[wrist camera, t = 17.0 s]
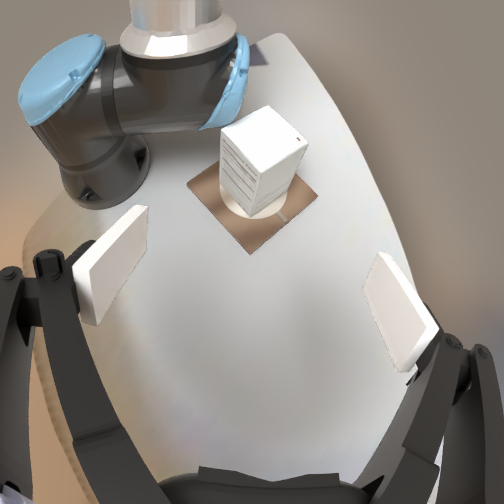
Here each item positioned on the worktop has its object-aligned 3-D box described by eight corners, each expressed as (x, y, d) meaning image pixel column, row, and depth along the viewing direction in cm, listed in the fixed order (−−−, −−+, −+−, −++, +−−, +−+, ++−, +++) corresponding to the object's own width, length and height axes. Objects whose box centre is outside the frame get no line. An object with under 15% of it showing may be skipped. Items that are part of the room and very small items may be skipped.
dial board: (187, 186, 43) (186, 181, 42) (255, 140, 47) (256, 135, 46) (249, 254, 41) (250, 252, 40) (316, 198, 45) (318, 194, 44)
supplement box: (256, 158, 44) (269, 102, 32) (287, 192, 43) (312, 142, 31) (217, 182, 42) (218, 127, 30) (248, 220, 41) (262, 173, 29)
